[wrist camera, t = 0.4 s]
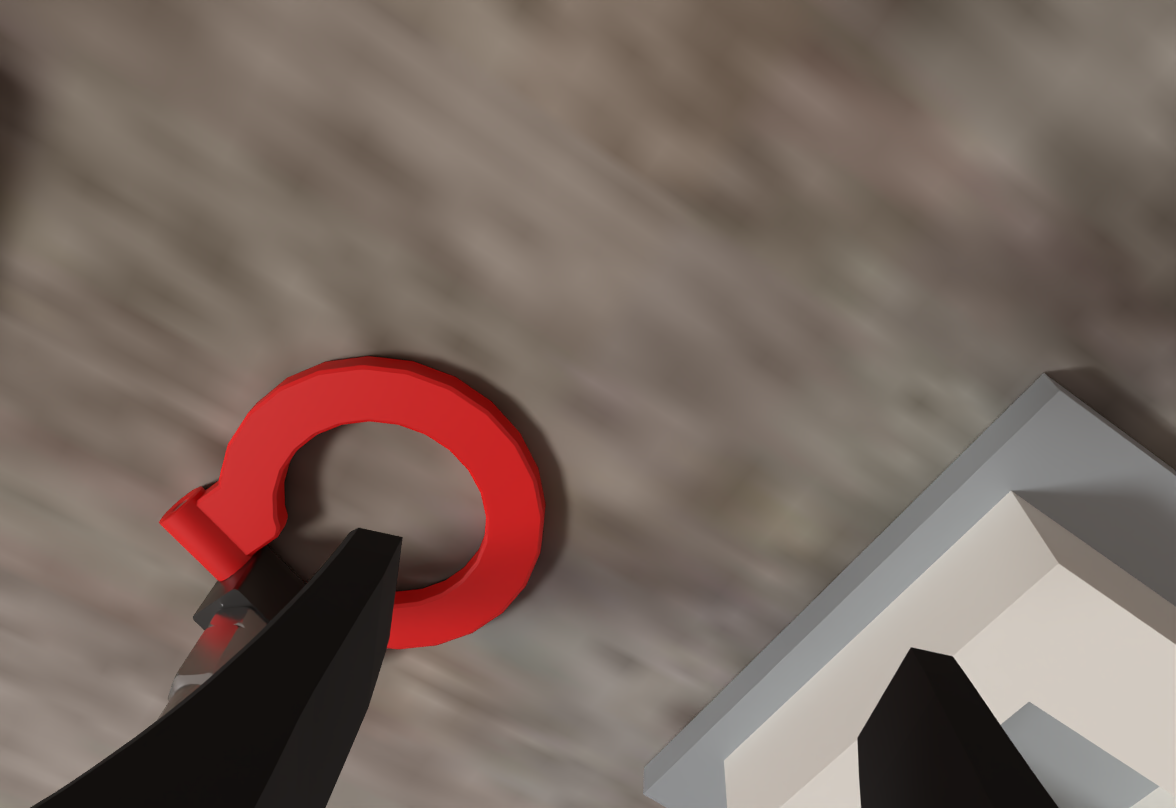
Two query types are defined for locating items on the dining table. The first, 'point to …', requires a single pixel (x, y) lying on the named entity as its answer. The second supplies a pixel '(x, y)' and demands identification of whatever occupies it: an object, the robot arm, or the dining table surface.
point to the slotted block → (977, 628)
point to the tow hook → (258, 515)
